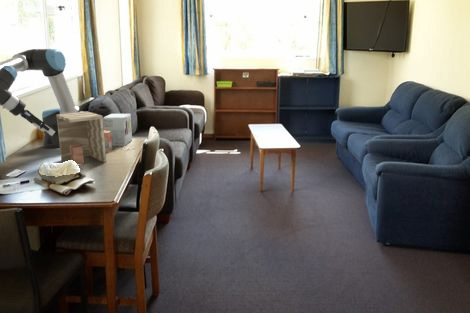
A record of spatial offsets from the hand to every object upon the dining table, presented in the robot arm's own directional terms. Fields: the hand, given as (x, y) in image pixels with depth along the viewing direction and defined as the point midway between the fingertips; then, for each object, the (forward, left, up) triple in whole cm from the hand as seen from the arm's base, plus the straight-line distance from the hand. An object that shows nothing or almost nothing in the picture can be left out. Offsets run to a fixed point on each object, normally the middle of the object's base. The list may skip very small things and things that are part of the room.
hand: (49, 131), depth 236 cm
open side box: (-4, +18, -19) cm, 27 cm away
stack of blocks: (-23, +32, -20) cm, 44 cm away
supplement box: (-34, +53, -20) cm, 66 cm away
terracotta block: (-1, +13, -19) cm, 24 cm away
